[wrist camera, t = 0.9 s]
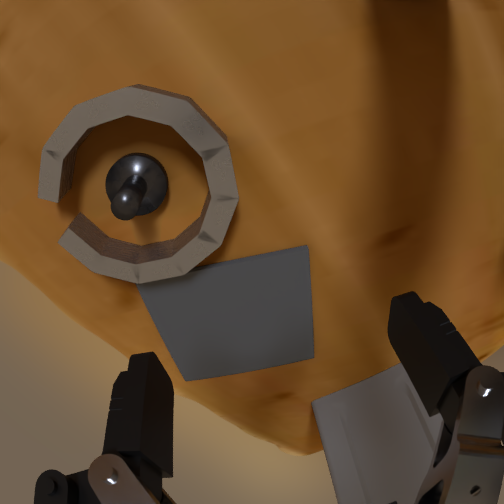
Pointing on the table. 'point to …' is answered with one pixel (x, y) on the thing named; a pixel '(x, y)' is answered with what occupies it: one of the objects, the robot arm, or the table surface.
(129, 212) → the peg stand
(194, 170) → the table surface
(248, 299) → the rubber mat
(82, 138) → the steel ring
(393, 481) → the tall grey upright block
